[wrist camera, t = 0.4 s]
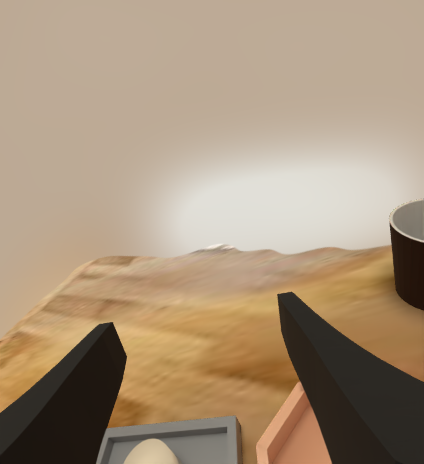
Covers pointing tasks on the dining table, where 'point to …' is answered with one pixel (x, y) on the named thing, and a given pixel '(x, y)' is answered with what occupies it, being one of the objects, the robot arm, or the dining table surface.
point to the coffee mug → (409, 251)
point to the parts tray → (179, 440)
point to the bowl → (293, 434)
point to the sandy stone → (152, 453)
